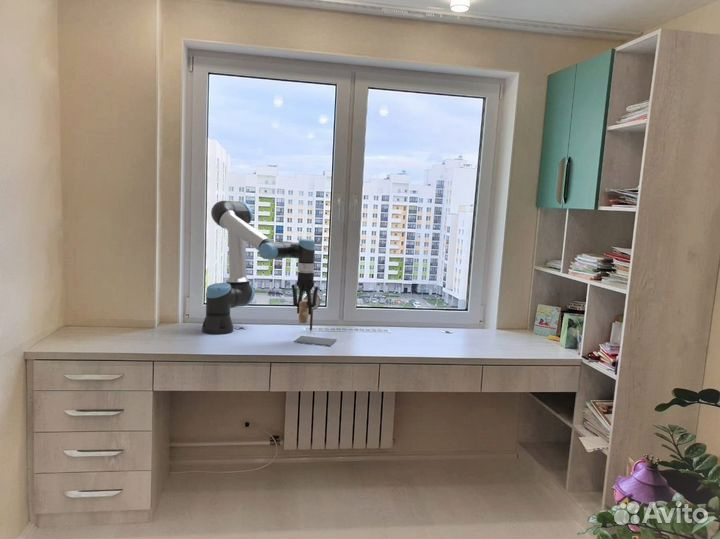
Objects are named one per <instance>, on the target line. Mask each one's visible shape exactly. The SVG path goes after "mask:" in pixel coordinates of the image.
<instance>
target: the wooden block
mask: <svg viewBox="0 0 720 539" xmlns="http://www.w3.org/2000/svg"><path fill="white" fill-rule="evenodd" d="M307 308H308V300H304V299H302V301H301V302H299V314H298V324H304V325H305V324H306V323H307V322H306V314H307Z"/></svg>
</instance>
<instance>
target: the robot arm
mask: <svg viewBox="0 0 720 539" xmlns="http://www.w3.org/2000/svg"><path fill="white" fill-rule="evenodd" d="M210 215H211V218H212V220H213V221H214V223H215V224H217V225H218V227H220V228H222V229H225V230H226V231H227V232H228V270H229V271H228V274H229V276H228V278H227V280H226V282H215V283H212V284H209V285H208V286H207V287H206V292H205V317H204V321H203V323H202V326H201V331H202V332H203V333H205V334H210V335H225V334H230V333H232V332H234V324H233V321H232V317H231V309H232V308H238V307H240V308H241V307H245V306H248V305H249V304H251V302H252V301H253V300H254V298H255V290H254V289H255V288H254V287H253V285H252V284H251V283H250V280H249V279H248V277H247V248H246V247H247V245H246V244H248V245H250V246H251V247H252V248H254V249H255V250H256V251H258V254H259V255H260V257H261V258H262V259H263V260H275V259H297V260H298V261H297V263H298V264H297V271H298V272H297V281H296V283H295V284H291V289H292V301H293V306H296V307H297V308H296V314H298V315H299V302H301V301H303V295H304V293H305V292H306V295H307V300H308V308H307V314H306V323H308V322H310V315H311V313H312V307H314V306H316V300H317V295H318V292H319V289H320V286H318V285H316V284H315V282H314V277H315V275H314V271H315V252H316V248H315V247H316V246H315V245H316V244H315V240H314V239H310V238H308V239H307V238H300V239H299V240H298V242H294V241H293V242H292V241H285V240H284V241H280V242H277V241H276V242H275V241H273V240H272V239H271V238H269V237H268V236H266V235H265V234H263V233H262V232H260V231H259V230H257V229H256V228H254V227H253V226H252V225H250V224H251V222H252V220H253V217H254V213H253V209H252V207H251V206H250V205H249V204H248V203H246V202H245V201H239V200H238V201H237V200H236V201H235V200H234V201H233V200H219V201H217V202H215V204H214V205H213V206H212V208H211V212H210ZM297 288H298V289H299V291H298V290H297ZM312 289H313V293H314V294H313V302H312V300H311V293H312ZM297 291H298V292H299V293H298V292H297Z"/></svg>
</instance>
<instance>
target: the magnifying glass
mask: <svg viewBox="0 0 720 539" xmlns="http://www.w3.org/2000/svg"><path fill="white" fill-rule="evenodd" d="M313 294H314V292H313V293H312V292H311V300H312V302H313ZM303 300H307V294H306V296H304V298H303ZM321 303H322V302H321V298H320V296H319V294H317V300H316V306H314V307H312V313H311V315H310V317H309V331H310V332H312V331H313V320H314V319H313V317H314V310H317V309H318V308H319V307H320V306H321Z"/></svg>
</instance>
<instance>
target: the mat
mask: <svg viewBox="0 0 720 539" xmlns="http://www.w3.org/2000/svg"><path fill="white" fill-rule="evenodd" d="M336 340H338V339H337V338H328V337H320V336H309V335H300V336H299V337H297V338H296V339H295V340H293V343H294V342H297V343H296V344H302V343H306V344H305V345H312V344H315V345H314V346H321V345H325V346H324V347H331V345H332V344H333V343H334V342H335V341H336ZM336 342H337V341H336ZM336 342H335V343H336ZM335 343H334V344H335ZM334 344H333V345H334ZM333 345H332V346H333Z"/></svg>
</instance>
